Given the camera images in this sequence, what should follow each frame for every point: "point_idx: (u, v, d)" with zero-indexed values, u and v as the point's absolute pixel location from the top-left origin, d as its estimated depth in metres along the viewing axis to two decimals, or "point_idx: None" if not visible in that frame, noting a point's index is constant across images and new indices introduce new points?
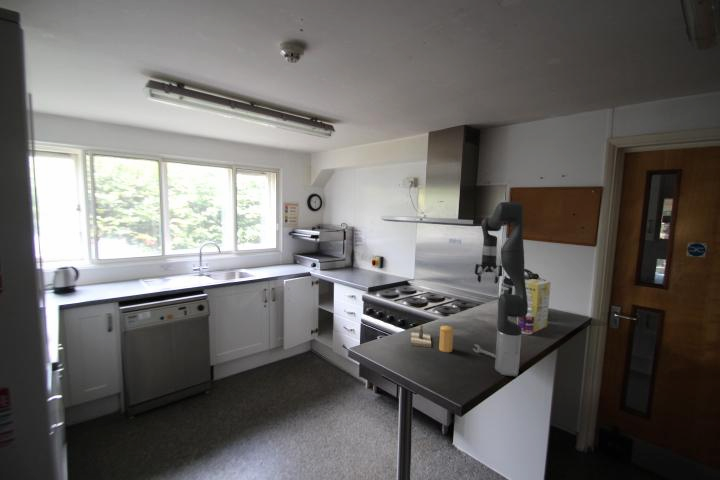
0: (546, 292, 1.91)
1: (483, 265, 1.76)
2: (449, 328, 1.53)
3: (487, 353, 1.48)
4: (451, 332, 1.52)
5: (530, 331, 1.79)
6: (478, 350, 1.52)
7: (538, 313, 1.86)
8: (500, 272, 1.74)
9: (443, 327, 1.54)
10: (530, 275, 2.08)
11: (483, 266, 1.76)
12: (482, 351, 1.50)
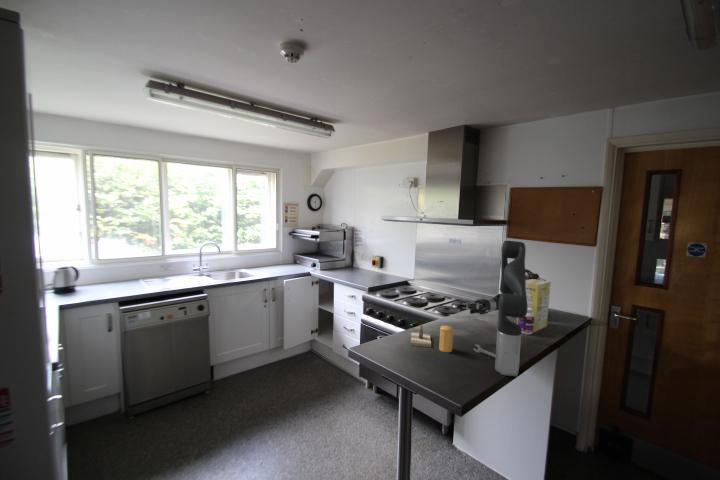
0: (546, 292, 1.91)
1: (472, 303, 1.66)
2: (449, 328, 1.53)
3: (487, 353, 1.49)
4: (451, 332, 1.52)
5: (530, 331, 1.79)
6: (479, 350, 1.52)
7: (538, 313, 1.86)
8: (482, 308, 1.57)
9: (443, 327, 1.54)
10: (530, 275, 2.08)
11: None
12: (482, 351, 1.51)
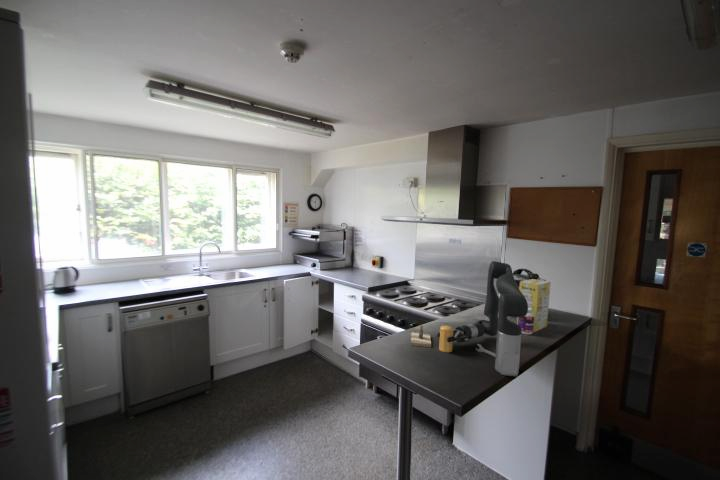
0: (546, 292, 1.91)
1: (453, 330, 1.61)
2: (449, 328, 1.53)
3: (488, 352, 1.49)
4: (451, 332, 1.52)
5: (530, 331, 1.79)
6: (480, 349, 1.53)
7: (538, 313, 1.86)
8: (461, 337, 1.51)
9: (443, 327, 1.54)
10: (530, 275, 2.08)
11: None
12: (484, 350, 1.51)
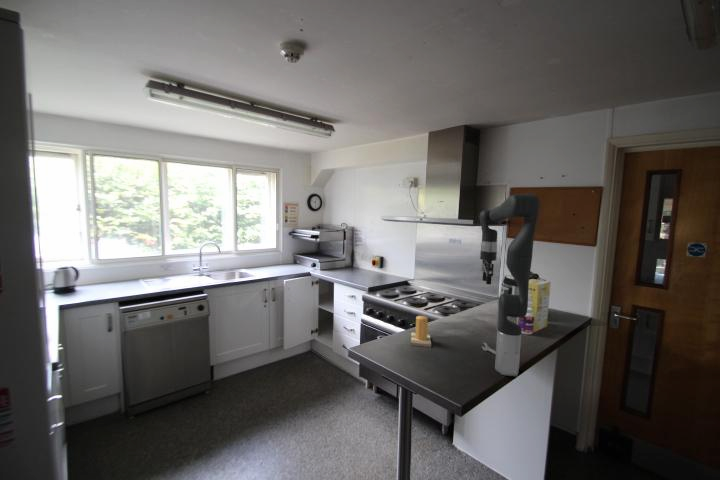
0: (546, 292, 1.91)
1: (484, 262, 1.60)
2: (424, 318, 1.63)
3: (493, 351, 1.50)
4: (425, 321, 1.61)
5: (530, 331, 1.79)
6: (486, 348, 1.55)
7: (538, 313, 1.86)
8: (487, 271, 1.51)
9: (418, 317, 1.64)
10: (530, 275, 2.08)
11: (484, 263, 1.60)
12: (489, 349, 1.53)
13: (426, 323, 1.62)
